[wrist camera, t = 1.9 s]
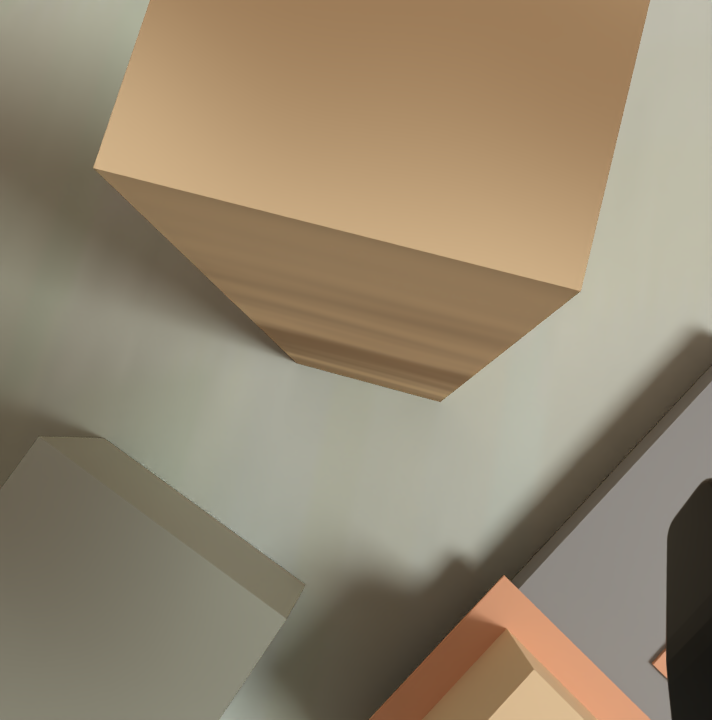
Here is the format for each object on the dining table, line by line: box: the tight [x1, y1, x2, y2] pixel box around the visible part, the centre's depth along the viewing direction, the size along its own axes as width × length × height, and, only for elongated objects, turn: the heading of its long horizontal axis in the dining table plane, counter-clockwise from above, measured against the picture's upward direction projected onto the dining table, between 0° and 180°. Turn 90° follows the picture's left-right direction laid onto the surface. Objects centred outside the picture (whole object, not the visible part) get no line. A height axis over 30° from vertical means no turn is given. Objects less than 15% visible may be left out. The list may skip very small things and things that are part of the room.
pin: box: [93, 0, 650, 402], centre depth 12 cm, size 4×4×13 cm
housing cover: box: [0, 436, 305, 720], centre depth 16 cm, size 9×7×4 cm
